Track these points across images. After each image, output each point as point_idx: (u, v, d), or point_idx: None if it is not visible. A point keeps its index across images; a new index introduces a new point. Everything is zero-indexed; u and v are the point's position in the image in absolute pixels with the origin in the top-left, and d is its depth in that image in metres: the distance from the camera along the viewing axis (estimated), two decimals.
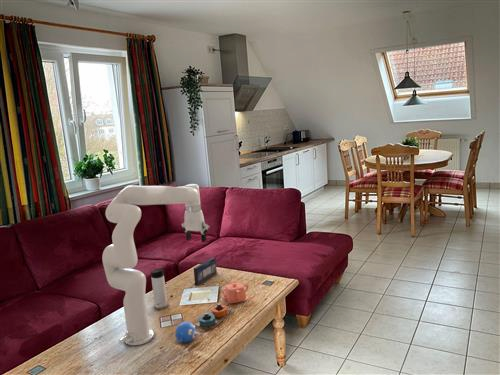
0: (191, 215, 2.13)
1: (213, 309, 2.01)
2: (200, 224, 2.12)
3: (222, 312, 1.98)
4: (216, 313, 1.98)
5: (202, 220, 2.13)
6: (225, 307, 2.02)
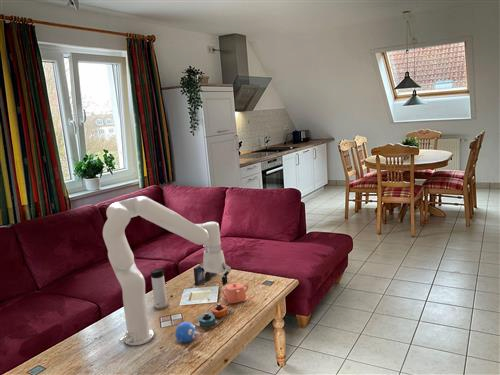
0: (210, 256, 1.95)
1: (213, 309, 2.01)
2: (220, 266, 1.94)
3: (222, 312, 1.98)
4: (216, 313, 1.98)
5: (223, 261, 1.96)
6: (225, 307, 2.02)
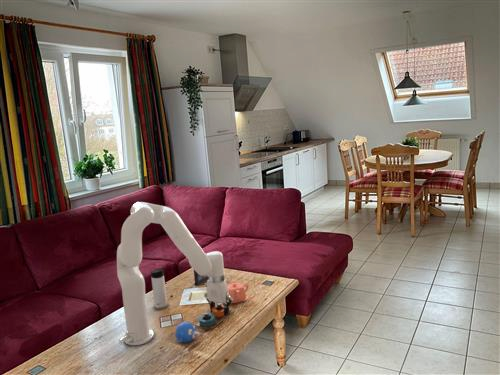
0: (214, 286, 1.97)
1: (213, 309, 2.01)
2: (224, 296, 1.96)
3: (222, 312, 1.98)
4: (216, 313, 1.98)
5: (226, 292, 1.97)
6: None
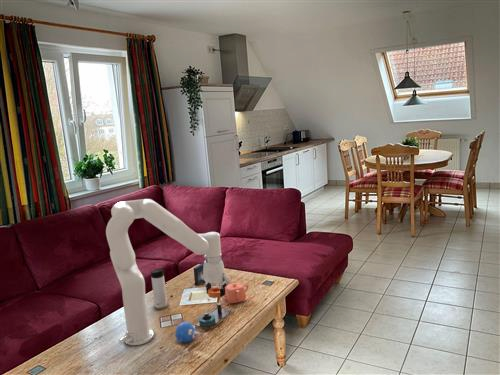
0: (210, 266, 1.95)
1: (209, 290, 1.99)
2: (220, 277, 1.94)
3: (218, 293, 1.96)
4: (212, 294, 1.96)
5: (223, 273, 1.95)
6: None
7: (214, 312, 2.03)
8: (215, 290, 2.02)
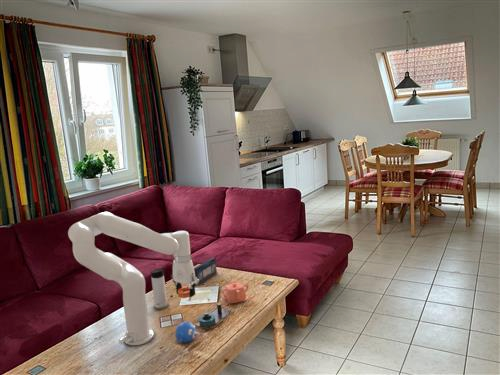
0: (179, 266, 1.91)
1: (179, 290, 1.95)
2: (189, 276, 1.90)
3: (188, 293, 1.93)
4: (181, 294, 1.93)
5: (192, 272, 1.92)
6: None
7: (214, 312, 2.03)
8: (185, 290, 1.98)
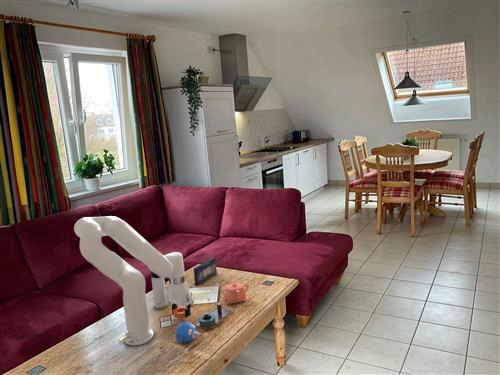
0: (174, 287, 1.92)
1: (174, 311, 1.96)
2: (184, 298, 1.91)
3: (183, 314, 1.94)
4: (177, 315, 1.94)
5: (187, 293, 1.93)
6: None
7: (214, 312, 2.03)
8: (181, 310, 1.99)
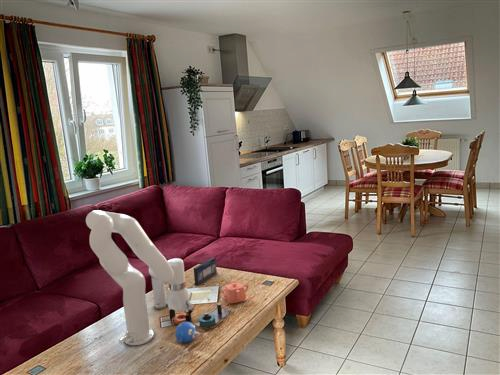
0: (174, 293, 1.93)
1: (175, 318, 1.97)
2: (184, 304, 1.92)
3: (184, 321, 1.95)
4: (178, 322, 1.94)
5: (186, 299, 1.93)
6: None
7: (214, 312, 2.03)
8: (181, 317, 2.00)
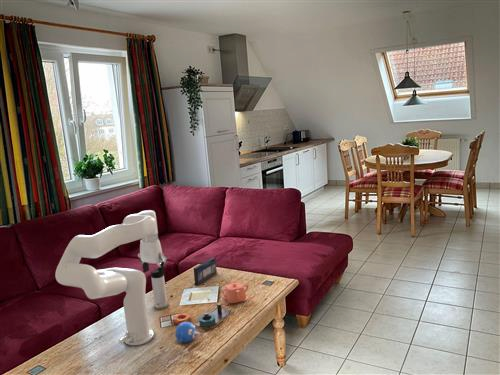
0: (146, 245, 1.90)
1: (175, 318, 1.97)
2: (156, 256, 1.89)
3: (184, 321, 1.95)
4: (178, 322, 1.94)
5: (159, 251, 1.91)
6: (187, 315, 1.98)
7: (214, 312, 2.03)
8: (181, 317, 2.00)
